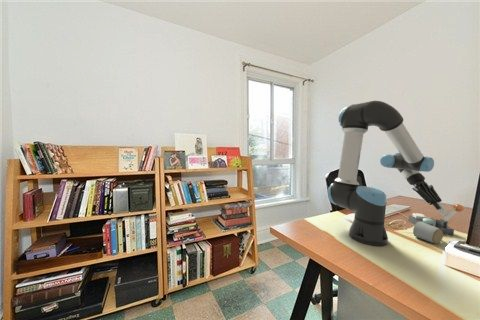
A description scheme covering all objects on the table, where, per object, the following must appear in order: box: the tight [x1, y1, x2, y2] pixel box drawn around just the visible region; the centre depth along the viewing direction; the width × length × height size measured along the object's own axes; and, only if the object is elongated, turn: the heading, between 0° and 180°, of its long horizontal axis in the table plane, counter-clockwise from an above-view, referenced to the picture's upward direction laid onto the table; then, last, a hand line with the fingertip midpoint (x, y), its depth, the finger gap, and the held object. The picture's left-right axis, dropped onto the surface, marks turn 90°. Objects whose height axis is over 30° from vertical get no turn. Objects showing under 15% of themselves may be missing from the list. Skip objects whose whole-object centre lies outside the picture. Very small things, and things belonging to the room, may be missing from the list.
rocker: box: [412, 212, 427, 219], centre depth 110 cm, size 4×3×1 cm
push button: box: [423, 218, 434, 225], centre depth 102 cm, size 4×4×2 cm
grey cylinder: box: [412, 221, 444, 245], centre depth 91 cm, size 11×8×8 cm
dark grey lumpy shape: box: [408, 215, 455, 236], centre depth 105 cm, size 11×16×6 cm
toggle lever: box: [441, 203, 465, 224], centre depth 97 cm, size 3×3×14 cm
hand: (446, 215), depth 99 cm, fingers closed
